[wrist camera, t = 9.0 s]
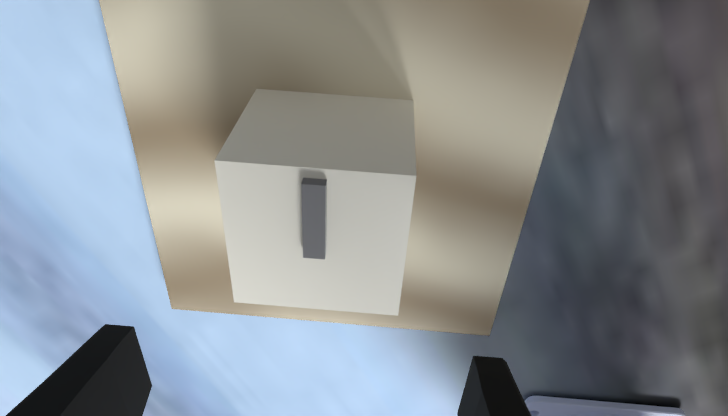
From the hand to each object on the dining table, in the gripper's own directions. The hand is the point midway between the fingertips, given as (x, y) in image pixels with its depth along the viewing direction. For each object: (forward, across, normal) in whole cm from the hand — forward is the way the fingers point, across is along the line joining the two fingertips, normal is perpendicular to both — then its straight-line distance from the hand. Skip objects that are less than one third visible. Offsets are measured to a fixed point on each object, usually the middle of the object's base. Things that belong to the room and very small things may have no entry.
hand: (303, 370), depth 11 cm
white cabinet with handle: (+8, 0, 0) cm, 8 cm away
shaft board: (+9, 0, 0) cm, 9 cm away
